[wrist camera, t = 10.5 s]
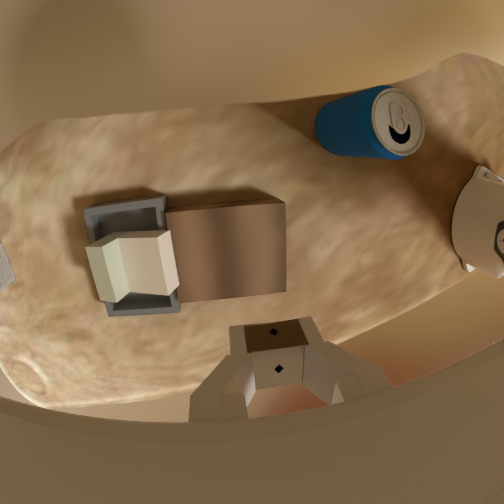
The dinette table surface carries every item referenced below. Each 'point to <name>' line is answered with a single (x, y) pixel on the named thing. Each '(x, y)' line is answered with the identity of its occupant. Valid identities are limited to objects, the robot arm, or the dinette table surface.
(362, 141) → the beverage can
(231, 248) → the walnut plate
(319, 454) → the robot arm
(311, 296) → the dinette table surface
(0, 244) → the skincare box
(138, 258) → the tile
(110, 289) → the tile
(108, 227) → the box
